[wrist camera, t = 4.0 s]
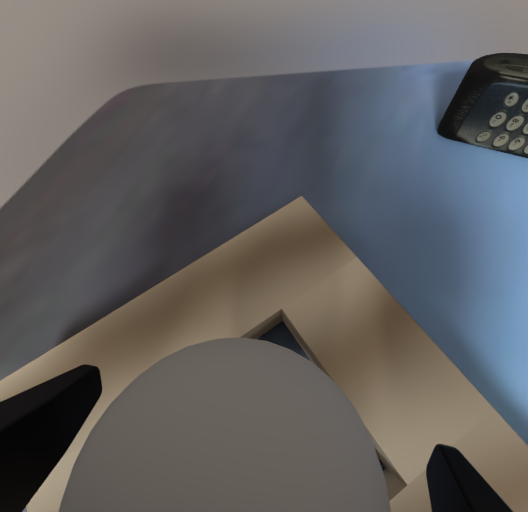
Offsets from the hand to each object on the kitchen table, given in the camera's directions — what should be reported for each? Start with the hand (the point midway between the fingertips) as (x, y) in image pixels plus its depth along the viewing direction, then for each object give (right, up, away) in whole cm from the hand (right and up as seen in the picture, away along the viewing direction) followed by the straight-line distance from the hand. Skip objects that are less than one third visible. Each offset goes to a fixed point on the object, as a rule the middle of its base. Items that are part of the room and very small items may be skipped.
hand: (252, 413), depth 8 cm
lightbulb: (0, -4, +6) cm, 7 cm away
